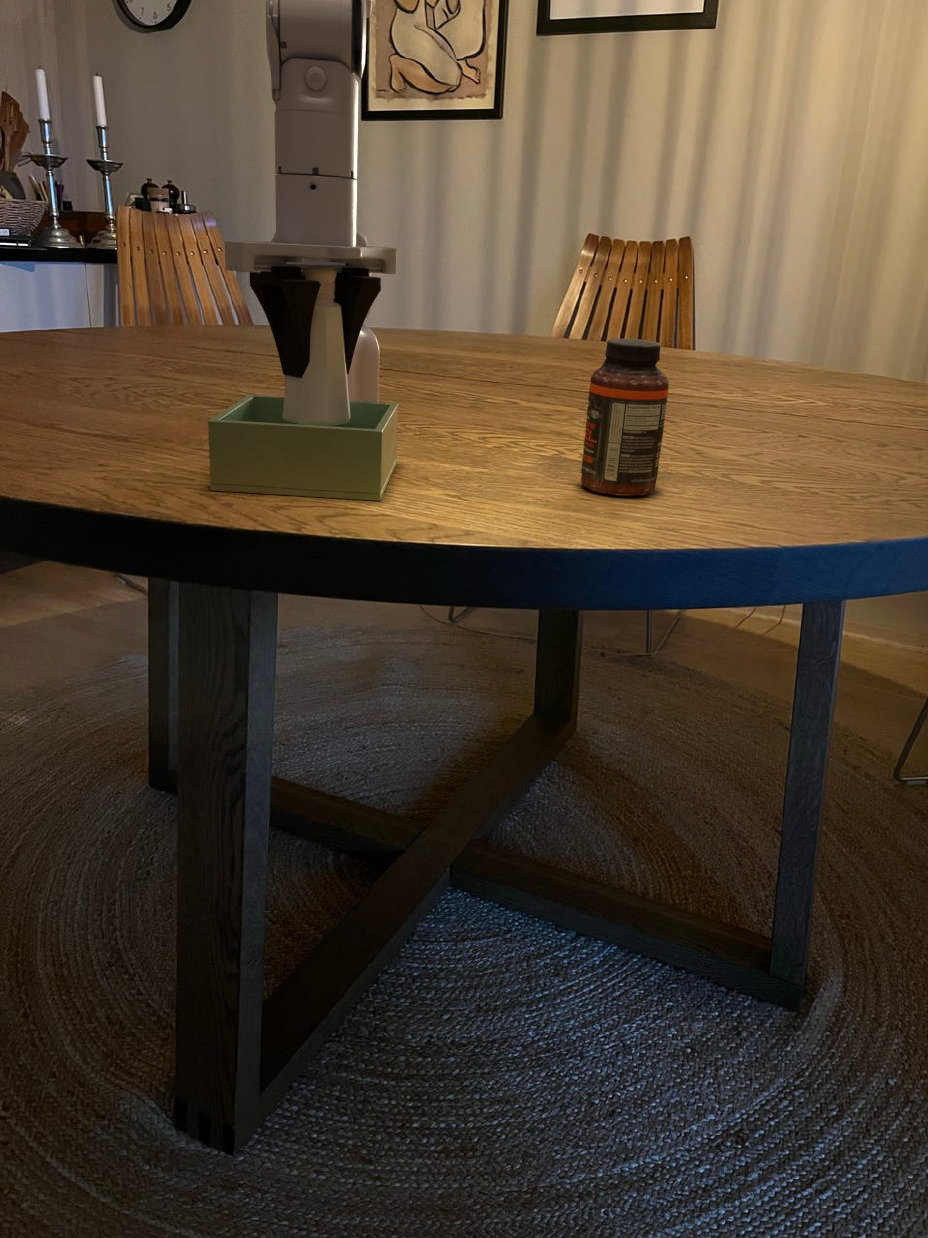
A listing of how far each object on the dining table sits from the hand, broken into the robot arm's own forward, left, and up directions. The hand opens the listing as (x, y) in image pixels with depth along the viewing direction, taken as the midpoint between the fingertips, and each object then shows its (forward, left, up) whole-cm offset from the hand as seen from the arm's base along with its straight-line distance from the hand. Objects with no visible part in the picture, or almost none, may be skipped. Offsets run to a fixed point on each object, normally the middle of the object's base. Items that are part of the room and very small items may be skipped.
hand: (316, 374), depth 75 cm
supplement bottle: (-16, +17, -8) cm, 25 cm away
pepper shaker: (0, 0, -4) cm, 4 cm away
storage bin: (+1, 0, -8) cm, 8 cm away
